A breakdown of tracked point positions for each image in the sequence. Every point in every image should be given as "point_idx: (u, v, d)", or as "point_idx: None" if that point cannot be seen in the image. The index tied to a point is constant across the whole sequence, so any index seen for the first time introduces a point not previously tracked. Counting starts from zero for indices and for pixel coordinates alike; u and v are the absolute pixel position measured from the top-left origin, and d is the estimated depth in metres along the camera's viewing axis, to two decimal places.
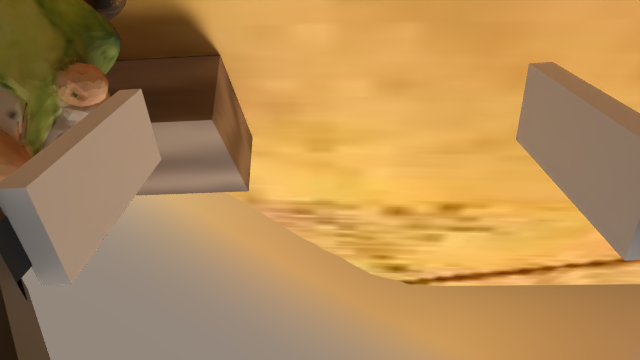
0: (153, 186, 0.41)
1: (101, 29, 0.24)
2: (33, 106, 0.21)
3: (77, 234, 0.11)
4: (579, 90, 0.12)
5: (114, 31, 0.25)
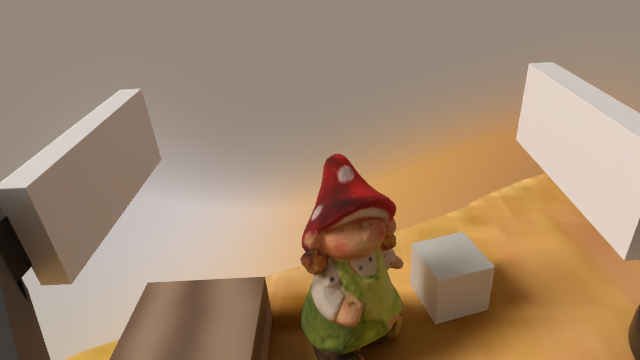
0: (153, 307, 0.41)
1: (351, 344, 0.37)
2: (357, 279, 0.35)
3: (77, 234, 0.11)
4: (579, 90, 0.12)
5: (342, 352, 0.37)
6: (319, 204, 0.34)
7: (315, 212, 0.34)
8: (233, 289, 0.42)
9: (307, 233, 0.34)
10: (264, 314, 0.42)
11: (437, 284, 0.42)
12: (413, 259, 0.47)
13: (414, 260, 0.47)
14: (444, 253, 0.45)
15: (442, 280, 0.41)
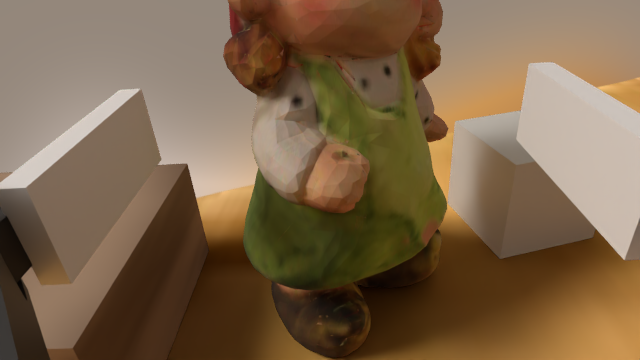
0: None
1: (341, 268, 0.16)
2: (357, 107, 0.15)
3: (77, 234, 0.11)
4: (579, 90, 0.12)
5: (322, 285, 0.17)
6: None
7: None
8: None
9: None
10: (180, 228, 0.22)
11: (513, 172, 0.22)
12: (456, 151, 0.27)
13: (459, 151, 0.26)
14: None
15: (523, 164, 0.21)
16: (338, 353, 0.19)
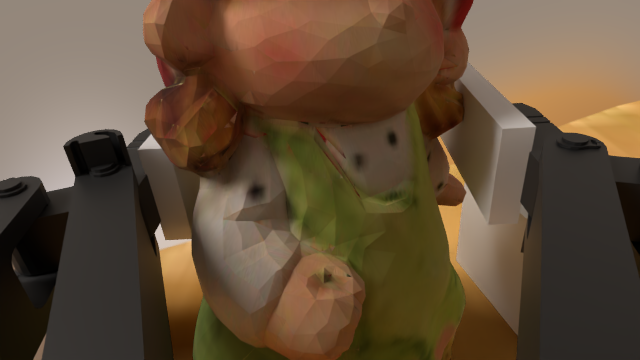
0: None
1: None
2: (348, 199, 0.10)
3: (194, 195, 0.12)
4: (468, 79, 0.13)
5: None
6: None
7: None
8: None
9: None
10: None
11: None
12: (468, 203, 0.22)
13: (471, 204, 0.22)
14: None
15: None
16: None
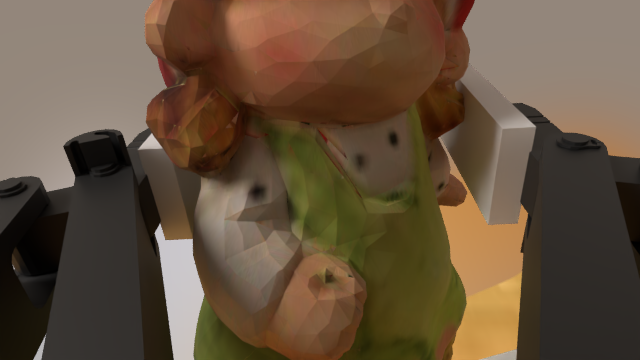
0: None
1: None
2: (349, 199, 0.10)
3: (194, 195, 0.12)
4: (468, 79, 0.13)
5: None
6: None
7: None
8: None
9: None
10: None
11: None
12: None
13: None
14: None
15: None
16: None
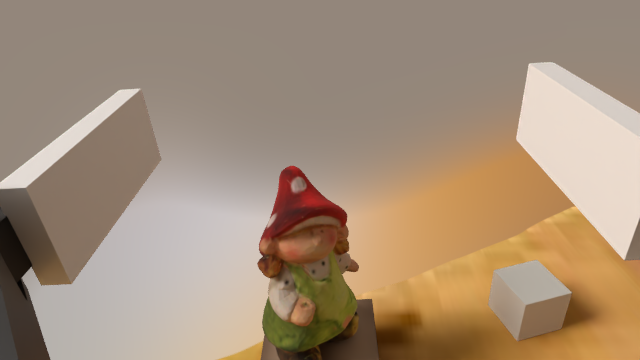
0: None
1: (306, 343, 0.39)
2: (310, 282, 0.38)
3: (77, 234, 0.11)
4: (579, 90, 0.12)
5: (298, 350, 0.39)
6: (274, 213, 0.37)
7: (270, 220, 0.37)
8: None
9: (262, 240, 0.36)
10: None
11: (524, 307, 0.49)
12: (494, 283, 0.54)
13: (496, 284, 0.54)
14: (525, 279, 0.52)
15: (528, 304, 0.48)
16: None
